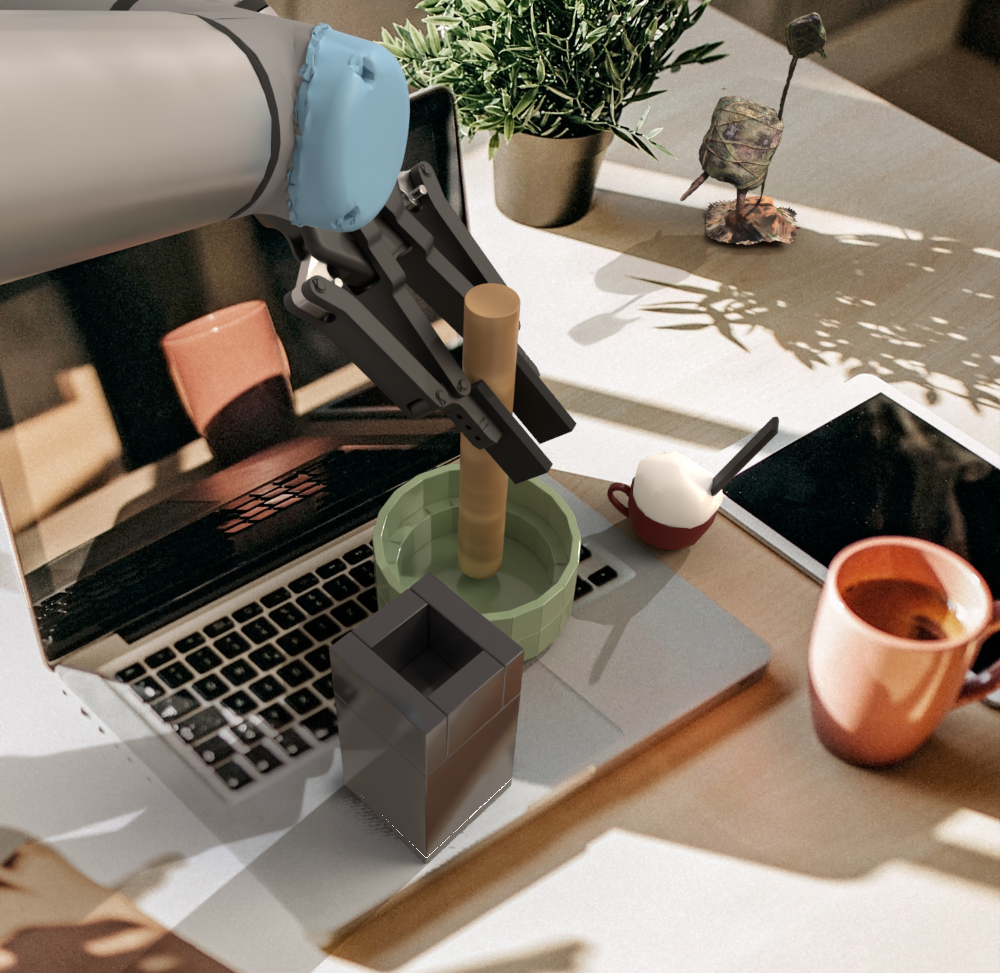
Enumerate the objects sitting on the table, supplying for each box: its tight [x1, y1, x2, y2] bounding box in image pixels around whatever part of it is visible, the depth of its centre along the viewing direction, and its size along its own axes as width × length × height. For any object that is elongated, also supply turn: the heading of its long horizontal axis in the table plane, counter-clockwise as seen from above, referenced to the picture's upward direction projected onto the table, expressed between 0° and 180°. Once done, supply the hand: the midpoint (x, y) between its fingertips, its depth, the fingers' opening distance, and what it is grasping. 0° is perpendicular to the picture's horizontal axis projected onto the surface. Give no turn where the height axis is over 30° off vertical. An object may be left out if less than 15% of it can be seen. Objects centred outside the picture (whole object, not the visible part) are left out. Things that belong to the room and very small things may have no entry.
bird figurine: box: [679, 11, 828, 246], centre depth 101 cm, size 8×11×20 cm
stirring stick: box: [458, 283, 521, 579], centre depth 69 cm, size 3×3×22 cm
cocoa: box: [606, 416, 780, 551], centre depth 78 cm, size 10×6×12 cm, turn 54°
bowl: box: [371, 463, 582, 662], centre depth 75 cm, size 13×13×6 cm
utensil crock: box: [328, 573, 525, 865], centre depth 63 cm, size 7×7×14 cm
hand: (545, 453), depth 67 cm, fingers closed on stirring stick, 3 cm apart
